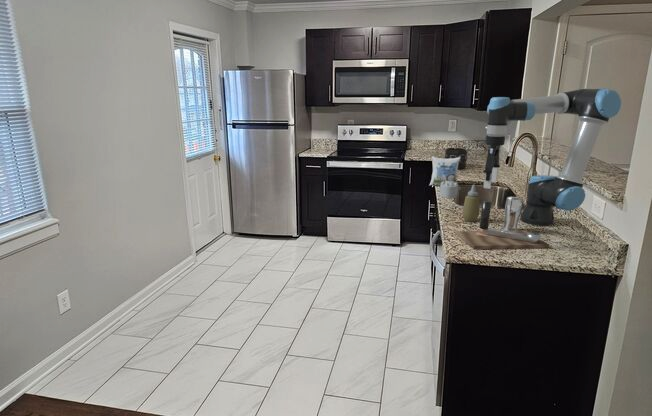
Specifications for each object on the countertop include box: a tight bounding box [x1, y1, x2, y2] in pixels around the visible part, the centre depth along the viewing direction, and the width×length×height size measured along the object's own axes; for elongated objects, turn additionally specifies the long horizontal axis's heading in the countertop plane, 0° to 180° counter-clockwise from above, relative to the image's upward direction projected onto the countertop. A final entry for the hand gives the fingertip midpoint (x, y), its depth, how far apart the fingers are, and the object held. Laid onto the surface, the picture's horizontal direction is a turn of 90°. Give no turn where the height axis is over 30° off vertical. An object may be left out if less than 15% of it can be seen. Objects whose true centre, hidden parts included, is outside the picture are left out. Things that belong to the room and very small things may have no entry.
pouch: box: [428, 156, 461, 186], centre depth 279 cm, size 8×19×20 cm, turn 86°
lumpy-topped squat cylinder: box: [439, 181, 459, 199], centre depth 255 cm, size 10×13×9 cm
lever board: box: [456, 229, 550, 250], centre depth 181 cm, size 32×20×2 cm, turn 95°
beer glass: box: [503, 196, 524, 231], centre depth 193 cm, size 7×7×15 cm
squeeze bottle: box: [462, 184, 481, 223], centre depth 206 cm, size 8×8×18 cm
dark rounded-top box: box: [444, 147, 469, 171], centre depth 345 cm, size 18×18×16 cm
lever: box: [478, 200, 542, 243], centre depth 178 cm, size 24×5×14 cm, turn 59°
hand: (489, 185), depth 181 cm, fingers open, 13 cm apart
